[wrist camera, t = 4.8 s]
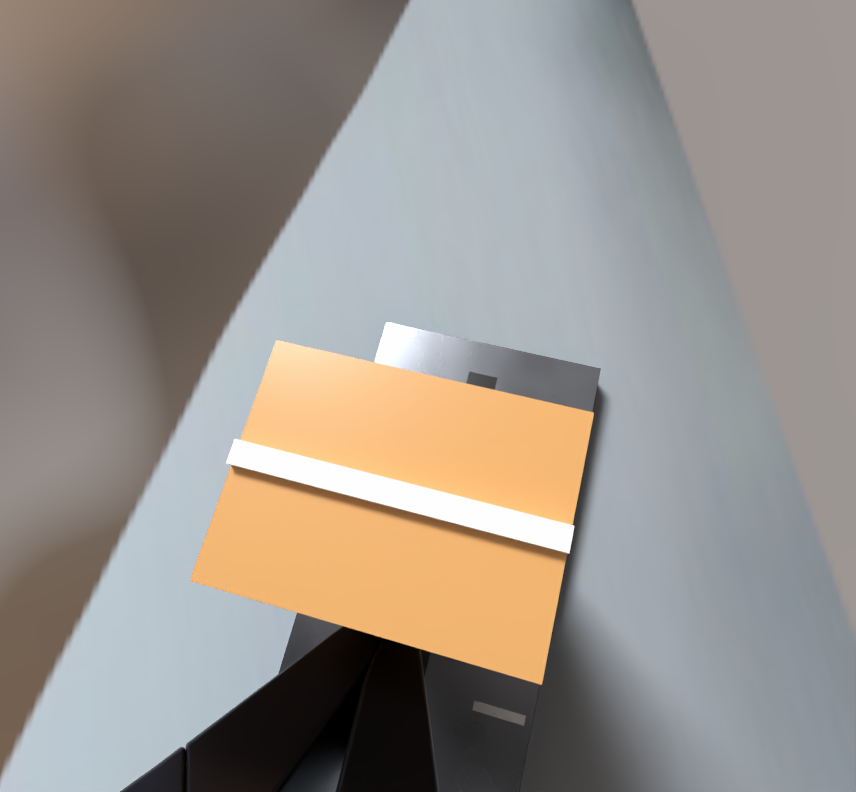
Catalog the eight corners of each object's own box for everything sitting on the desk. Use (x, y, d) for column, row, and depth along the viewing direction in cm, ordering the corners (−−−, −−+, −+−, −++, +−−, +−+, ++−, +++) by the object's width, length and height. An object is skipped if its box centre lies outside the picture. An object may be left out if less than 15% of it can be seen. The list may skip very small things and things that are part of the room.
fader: (497, 617, 16) (543, 688, 6) (358, 577, 17) (182, 580, 6) (520, 509, 17) (596, 409, 7) (387, 475, 17) (271, 335, 7)
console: (511, 803, 16) (514, 818, 15) (271, 725, 17) (259, 734, 16) (594, 378, 19) (600, 368, 18) (390, 333, 20) (386, 321, 19)
